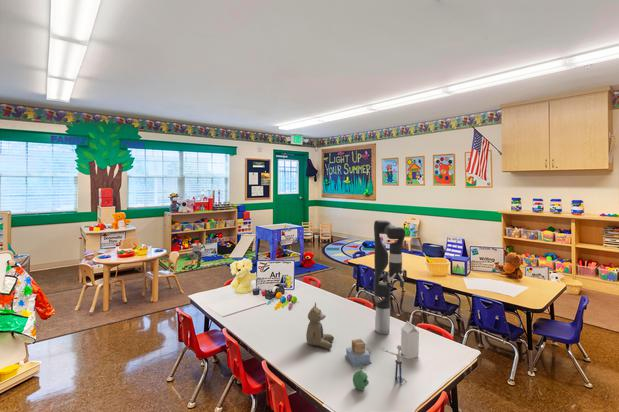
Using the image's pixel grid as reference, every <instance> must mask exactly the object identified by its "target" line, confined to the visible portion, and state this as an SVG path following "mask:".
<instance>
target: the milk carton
mask: <svg viewBox="0 0 619 412" xmlns="http://www.w3.org/2000/svg"><path fill="white" fill-rule="evenodd" d="M400 328H401V329H400V331H401V332H400V334H401V337H400V346H401V348H402V349H401V351H400V354H402V356H405V357H408V358H411V359H415V358H419V352H420V350H419V346H420V344H419V343H420V331H418V329H416V326H415V324H412V323H411V322H409V321H408V320H406V322H405V323H404V324H403V326H402V327H400Z"/></svg>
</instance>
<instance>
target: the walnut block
mask: <svg viewBox="0 0 619 412" xmlns="http://www.w3.org/2000/svg"><path fill="white" fill-rule="evenodd" d="M351 347H352V350H353V351H354V353H355V354H361V353H365V349H366V343H365V342H364V340H363V339H361V338H357V339H352V340H351Z"/></svg>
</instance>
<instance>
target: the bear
mask: <svg viewBox="0 0 619 412" xmlns="http://www.w3.org/2000/svg"><path fill="white" fill-rule="evenodd" d="M325 318H326V315H325V314H324V313H323V312H322V310H321V309H320V308H319V307H317V302H315V301H314V305H313V306H312V307H311V309H310V310H309V312H308V314H307V319H308V321H309V322H308V325H307V329H306V334H305V335H306V339H305V340H306V343H307V344H308V345H311V346H315V347H320V348H324V349H326V350H331V349H332V347H333V344H332V343H333V341H334V340H335V337H334V335H332V334H329V333H324V328H323V324H322V323H321V321H323V320H325ZM331 342H332V343H331Z"/></svg>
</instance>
